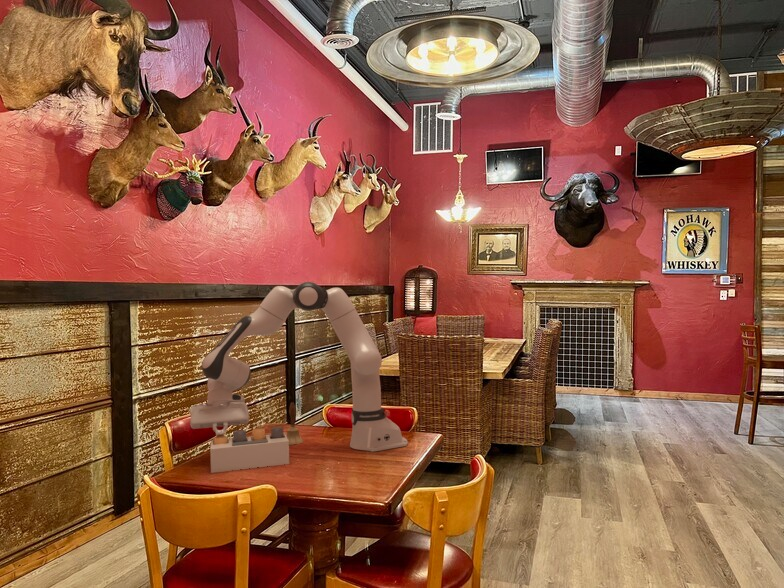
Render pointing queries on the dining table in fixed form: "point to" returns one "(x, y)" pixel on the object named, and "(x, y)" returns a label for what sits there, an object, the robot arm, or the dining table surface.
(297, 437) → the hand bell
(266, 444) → the keypad
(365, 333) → the robot arm
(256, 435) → the orange key
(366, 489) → the dining table surface
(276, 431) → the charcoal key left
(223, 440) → the orange key
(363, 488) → the dining table surface
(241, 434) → the charcoal key middle
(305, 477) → the dining table surface
